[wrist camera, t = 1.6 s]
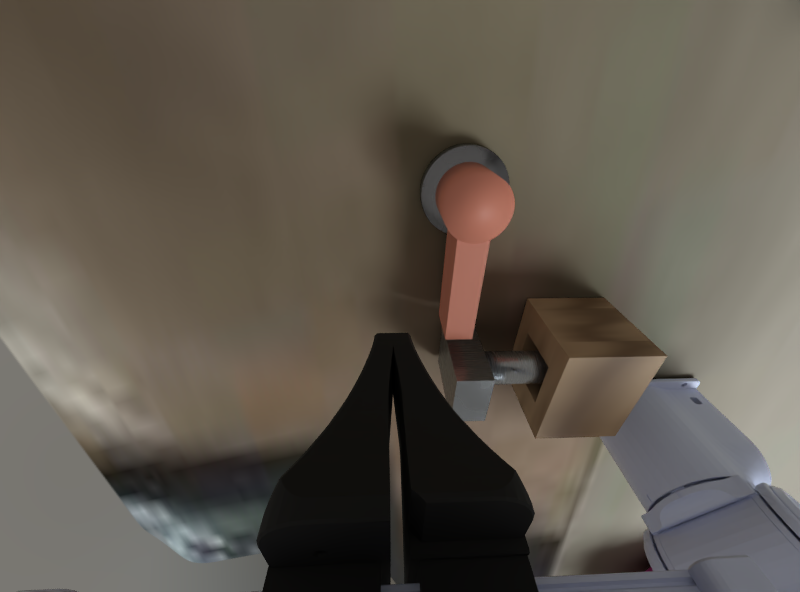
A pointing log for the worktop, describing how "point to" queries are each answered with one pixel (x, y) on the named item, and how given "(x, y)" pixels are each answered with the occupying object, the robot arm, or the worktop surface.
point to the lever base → (446, 162)
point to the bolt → (483, 373)
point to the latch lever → (468, 239)
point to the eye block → (583, 367)
